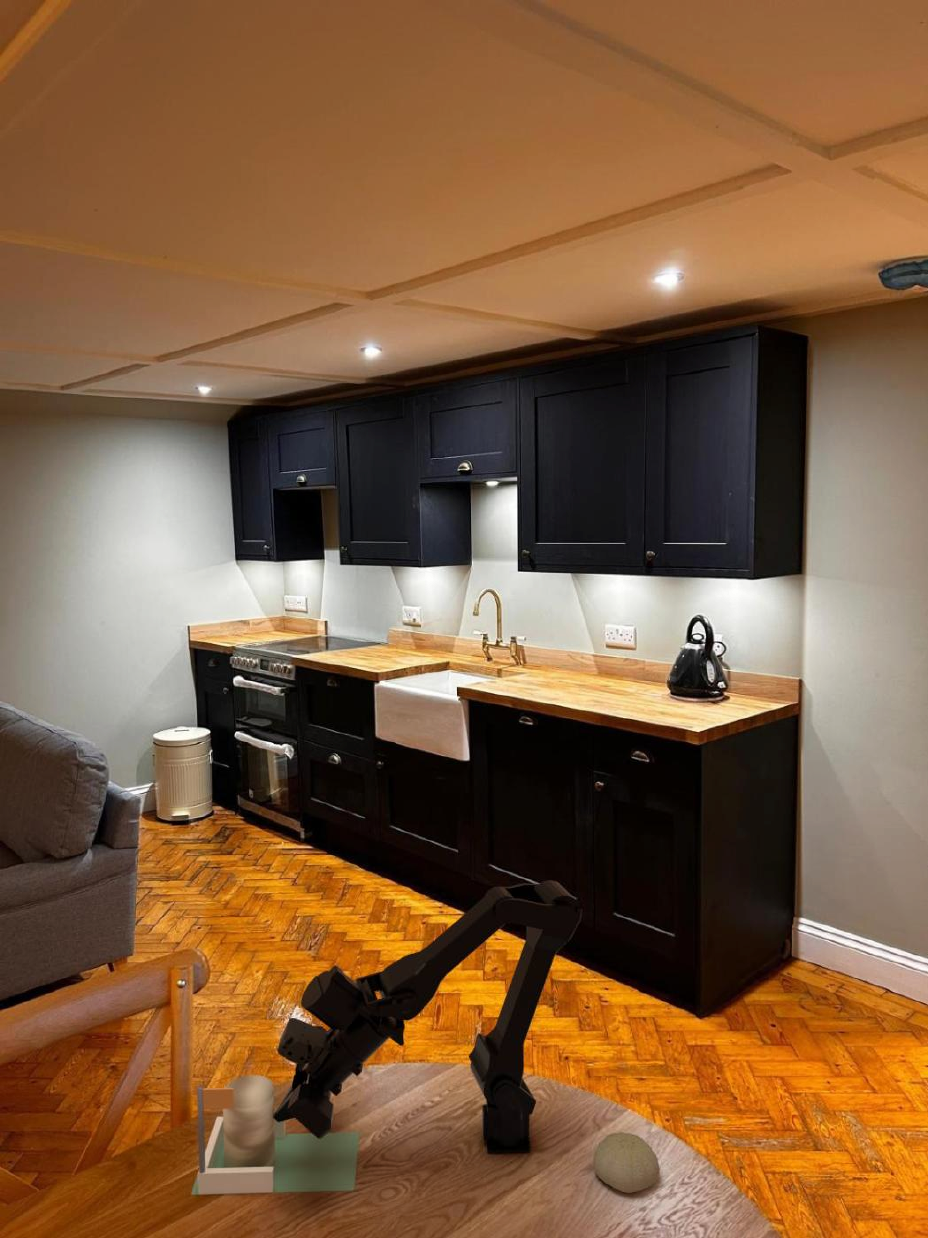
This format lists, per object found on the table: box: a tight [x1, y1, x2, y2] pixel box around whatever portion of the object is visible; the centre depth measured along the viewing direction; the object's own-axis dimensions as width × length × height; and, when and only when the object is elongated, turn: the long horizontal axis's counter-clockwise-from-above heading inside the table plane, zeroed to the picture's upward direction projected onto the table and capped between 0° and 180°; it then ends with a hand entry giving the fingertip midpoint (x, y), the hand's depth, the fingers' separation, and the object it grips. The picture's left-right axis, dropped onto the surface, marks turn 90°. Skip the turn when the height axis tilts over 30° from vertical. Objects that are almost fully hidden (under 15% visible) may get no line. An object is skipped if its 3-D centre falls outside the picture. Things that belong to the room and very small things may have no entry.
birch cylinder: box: [222, 1074, 275, 1168], centre depth 131 cm, size 7×7×11 cm
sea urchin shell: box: [593, 1131, 660, 1194], centre depth 131 cm, size 9×8×8 cm
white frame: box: [196, 1085, 287, 1195], centre depth 130 cm, size 10×12×15 cm
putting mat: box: [190, 1131, 361, 1196], centre depth 132 cm, size 22×12×1 cm, turn 93°
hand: (276, 1118), depth 131 cm, fingers closed
